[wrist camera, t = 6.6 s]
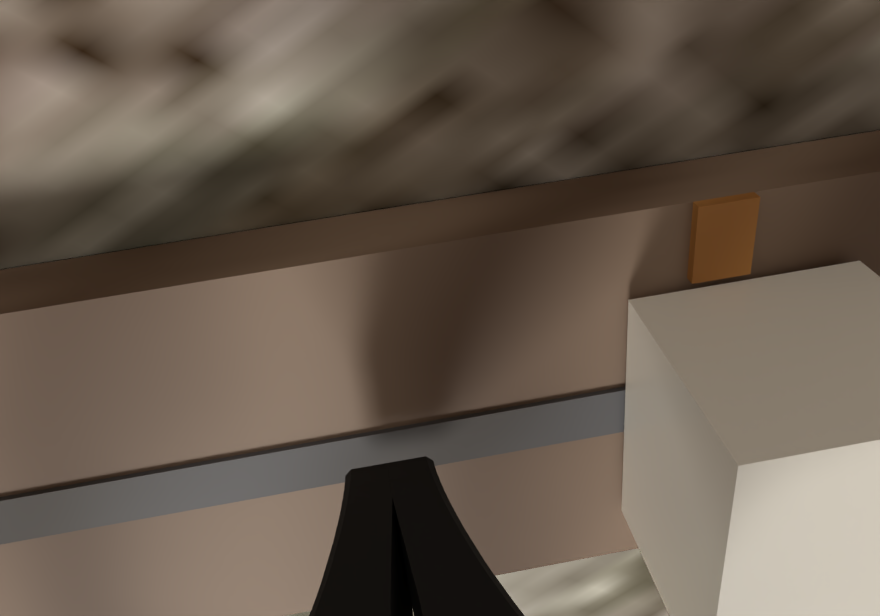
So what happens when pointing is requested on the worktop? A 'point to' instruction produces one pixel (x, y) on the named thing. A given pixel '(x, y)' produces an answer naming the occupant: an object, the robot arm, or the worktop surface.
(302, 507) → the fader board
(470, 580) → the robot arm
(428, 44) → the worktop surface
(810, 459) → the slider tab
